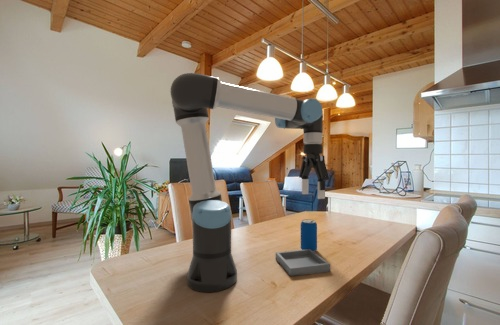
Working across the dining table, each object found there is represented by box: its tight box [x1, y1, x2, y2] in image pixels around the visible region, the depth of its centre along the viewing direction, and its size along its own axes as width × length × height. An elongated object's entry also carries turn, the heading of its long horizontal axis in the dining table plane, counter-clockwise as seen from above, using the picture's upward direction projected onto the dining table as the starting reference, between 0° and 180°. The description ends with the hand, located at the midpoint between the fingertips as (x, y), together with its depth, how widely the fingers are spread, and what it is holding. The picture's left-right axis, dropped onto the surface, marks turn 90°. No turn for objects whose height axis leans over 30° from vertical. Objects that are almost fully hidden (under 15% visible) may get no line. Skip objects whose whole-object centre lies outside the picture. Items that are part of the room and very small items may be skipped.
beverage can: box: [300, 218, 318, 253], centre depth 97 cm, size 6×6×12 cm
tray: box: [275, 249, 331, 277], centre depth 84 cm, size 14×14×2 cm
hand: (312, 196), depth 97 cm, fingers open, 13 cm apart
